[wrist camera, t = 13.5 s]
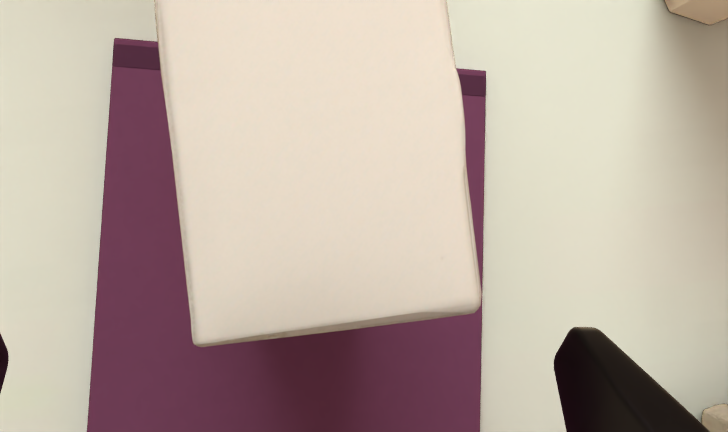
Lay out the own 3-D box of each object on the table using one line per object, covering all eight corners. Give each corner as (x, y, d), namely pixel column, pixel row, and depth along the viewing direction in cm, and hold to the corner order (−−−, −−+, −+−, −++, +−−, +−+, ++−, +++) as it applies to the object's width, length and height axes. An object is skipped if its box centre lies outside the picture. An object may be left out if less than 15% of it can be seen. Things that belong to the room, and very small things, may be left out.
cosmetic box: (219, 116, 19) (139, -102, 8) (343, 107, 20) (445, -106, 8) (238, 296, 19) (184, 357, 7) (364, 280, 20) (499, 312, 8)
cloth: (473, 575, 20) (477, 582, 20) (78, 597, 18) (74, 605, 18) (482, 73, 21) (486, 70, 21) (117, 41, 19) (113, 36, 19)
